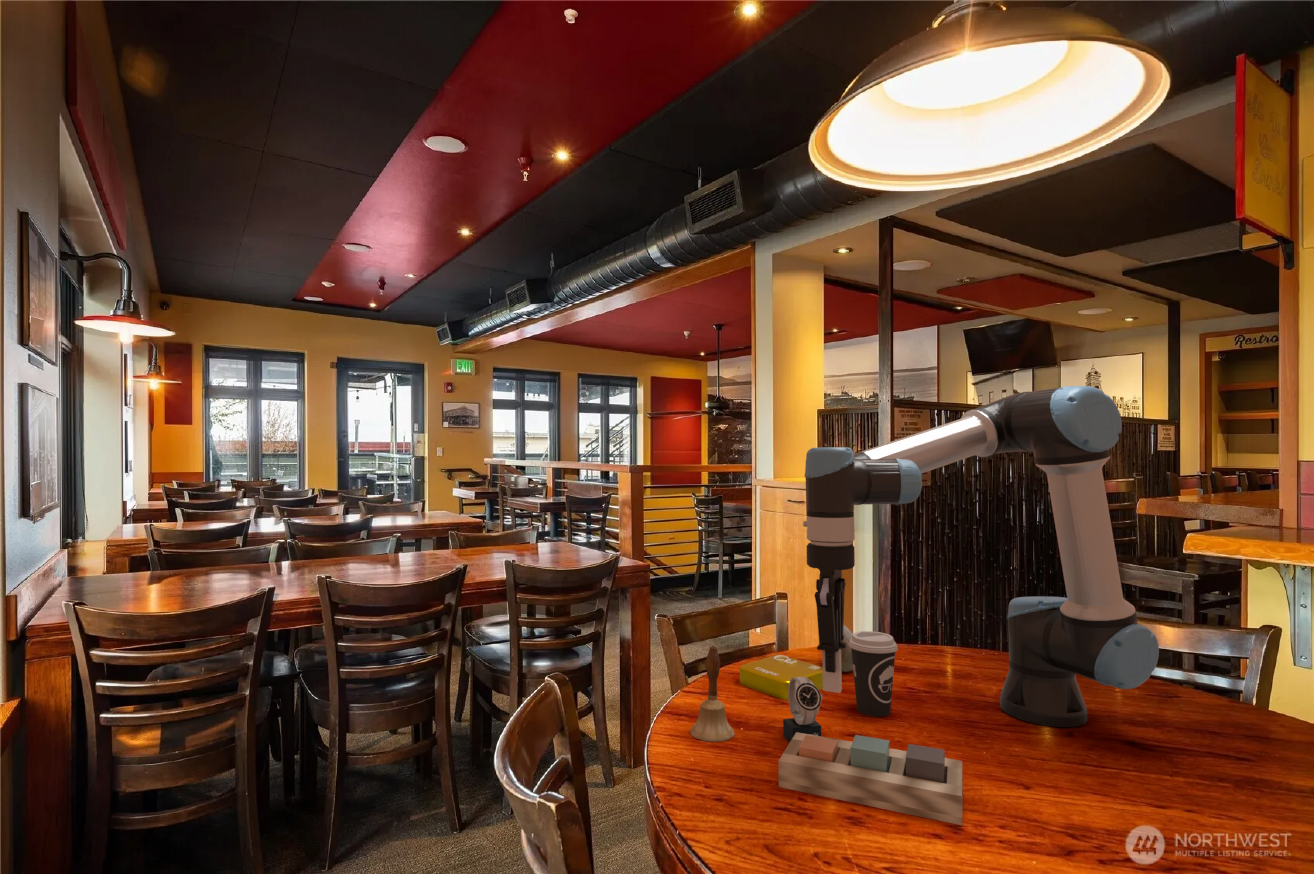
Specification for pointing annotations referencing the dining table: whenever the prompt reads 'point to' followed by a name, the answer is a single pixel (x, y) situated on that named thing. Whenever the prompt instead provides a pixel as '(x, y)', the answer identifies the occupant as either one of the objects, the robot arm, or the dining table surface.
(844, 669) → the fruit
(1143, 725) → the dining table surface
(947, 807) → the button panel
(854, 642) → the coffee cup
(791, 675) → the element tile
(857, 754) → the teal button
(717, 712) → the hand bell
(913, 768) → the charcoal button
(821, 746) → the terracotta button
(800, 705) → the watch
